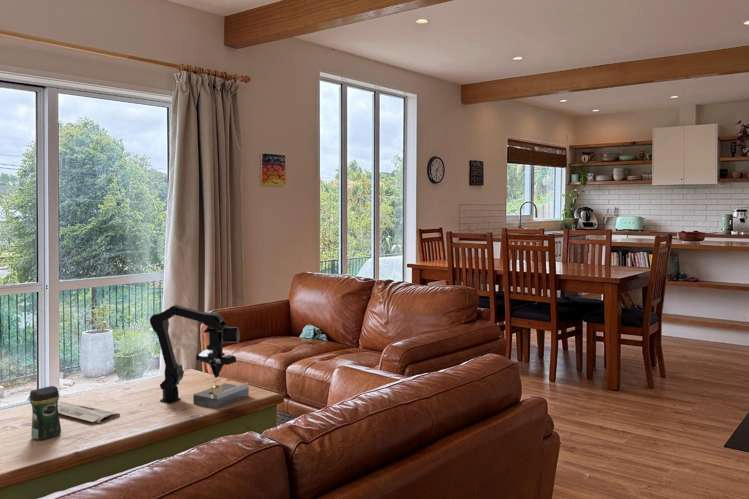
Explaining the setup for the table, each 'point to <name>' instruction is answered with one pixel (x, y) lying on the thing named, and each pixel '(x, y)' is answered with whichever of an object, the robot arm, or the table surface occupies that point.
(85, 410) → the newspaper
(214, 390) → the bushing
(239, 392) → the block
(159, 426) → the table surface
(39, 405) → the coffee jar
